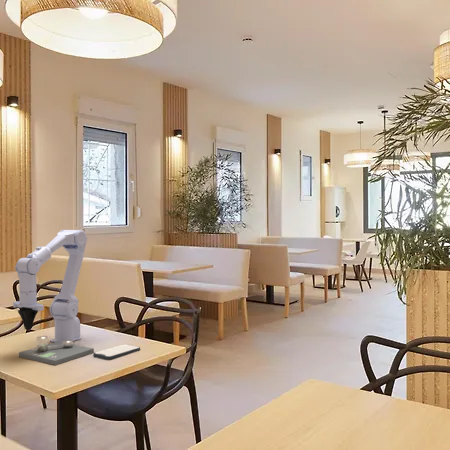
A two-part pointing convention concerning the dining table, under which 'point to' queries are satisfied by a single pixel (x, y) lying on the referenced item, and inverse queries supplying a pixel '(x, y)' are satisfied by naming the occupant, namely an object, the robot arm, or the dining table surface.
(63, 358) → the dial board
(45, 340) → the lever
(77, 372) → the dining table surface
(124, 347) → the phone case
